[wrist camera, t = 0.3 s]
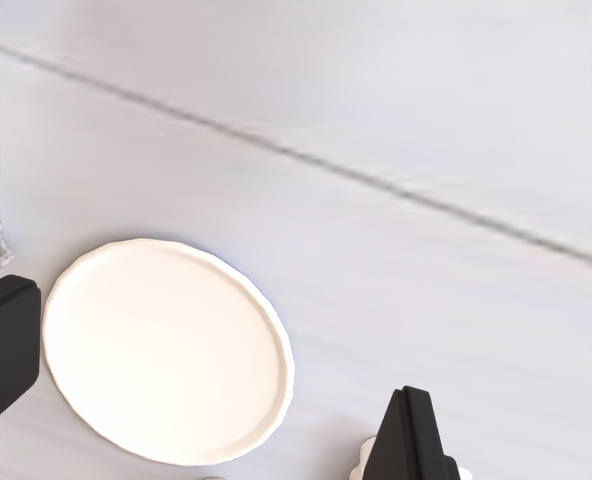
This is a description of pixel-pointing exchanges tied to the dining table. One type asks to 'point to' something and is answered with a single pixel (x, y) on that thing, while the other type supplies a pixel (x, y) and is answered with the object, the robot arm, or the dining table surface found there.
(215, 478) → the coffee cup
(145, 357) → the plate
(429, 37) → the dining table surface
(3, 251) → the mug
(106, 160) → the dining table surface
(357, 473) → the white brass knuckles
